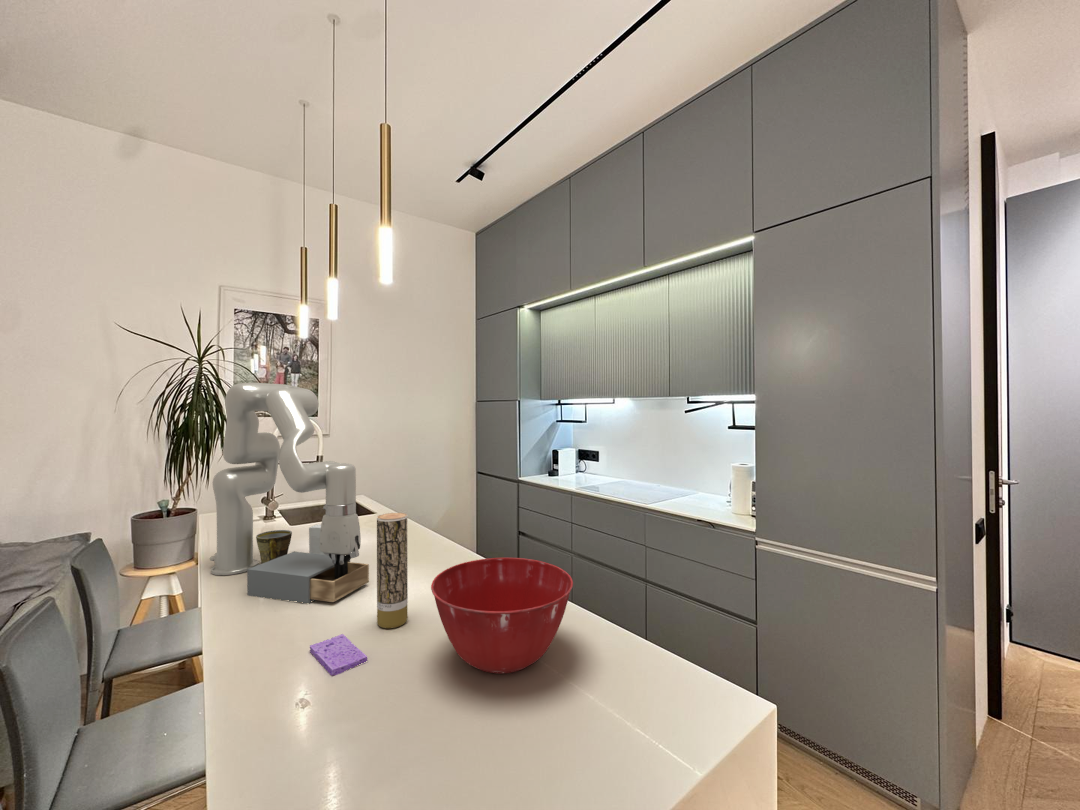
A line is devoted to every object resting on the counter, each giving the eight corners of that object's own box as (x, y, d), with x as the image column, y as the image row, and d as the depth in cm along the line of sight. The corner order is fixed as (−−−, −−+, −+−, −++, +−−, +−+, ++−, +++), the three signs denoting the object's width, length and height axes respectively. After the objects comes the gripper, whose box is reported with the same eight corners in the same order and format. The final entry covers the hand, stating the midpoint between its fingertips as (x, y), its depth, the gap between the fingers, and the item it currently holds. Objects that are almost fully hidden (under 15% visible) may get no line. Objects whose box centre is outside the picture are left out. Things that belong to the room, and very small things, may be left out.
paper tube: (398, 631, 105) (398, 520, 105) (371, 628, 107) (370, 518, 107) (412, 617, 112) (412, 513, 112) (386, 615, 113) (386, 512, 113)
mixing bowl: (596, 642, 100) (595, 570, 100) (524, 719, 75) (523, 623, 75) (489, 613, 114) (489, 549, 114) (400, 670, 90) (399, 589, 90)
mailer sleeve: (247, 595, 126) (247, 569, 126) (294, 574, 141) (294, 551, 141) (308, 604, 120) (308, 576, 120) (350, 581, 135) (350, 557, 135)
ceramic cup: (258, 562, 152) (258, 531, 152) (292, 558, 156) (292, 528, 156) (252, 575, 140) (252, 542, 140) (290, 570, 144) (290, 538, 144)
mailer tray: (274, 593, 124) (273, 574, 124) (313, 575, 138) (313, 558, 138) (333, 602, 119) (333, 582, 119) (368, 582, 132) (368, 564, 132)
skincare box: (333, 561, 153) (333, 524, 153) (326, 565, 149) (326, 527, 149) (316, 560, 154) (316, 524, 154) (308, 564, 150) (308, 527, 150)
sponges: (343, 642, 102) (343, 633, 102) (368, 664, 92) (368, 655, 92) (308, 654, 97) (308, 644, 97) (331, 679, 88) (331, 669, 88)
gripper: (307, 511, 125) (308, 579, 125) (354, 514, 121) (355, 585, 121) (328, 505, 132) (328, 570, 132) (373, 508, 128) (373, 575, 128)
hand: (341, 577), depth 127 cm, fingers closed
